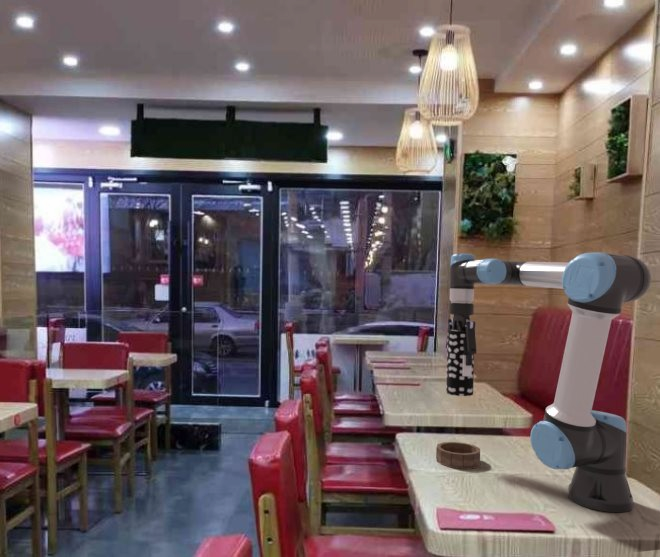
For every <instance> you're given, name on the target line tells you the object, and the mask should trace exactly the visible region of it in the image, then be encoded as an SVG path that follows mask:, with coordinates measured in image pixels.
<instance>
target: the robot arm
mask: <svg viewBox="0 0 660 557" xmlns="http://www.w3.org/2000/svg"><path fill="white" fill-rule="evenodd" d="M449 269H450V270H449V301H450V303H449V309H448V310H449V312H448V313H449V315H453V317H452V318H448V320H447V331H448V330H458V331H466V339H465V338H463V348H464V353H463V370H462V376H471V375H472V355H473V354H474V355H475V354H477V342H476V321H471V318H470V316H473V315H474V311H475V310H474V308H475V305H474V303H473V302H474V300H475V299H474V298H475V290H474V289H475V285H476V284H477V285H478V284H479V285H500V286H501V285H504V286H505V285H507V286H508V285H509V286H520V287H534V288H535V287H536V288H546V289H547V288H549V289H561V290H564V293H565V294H566V296H567V306H568V307H569V309H570V310H571V318H570V322H569V328H568V331H567V332H568V333H567V338H566V342H565V347H564V352H563V357H562V360H561V367H560V372H559V377H558V382H557V387H556V391H555V396H554V401H553V403H552V404H550V405H548V406H547V407H545V411H544V416H543V420H539V422H538V421H537V423H535V424H534V425H533V427H532V428H531V431H530V437H529V438H530V444H531V447H532V450H533V451H534V453H535V456H536V457H537V460H539V461H540V462H541V463H542V464H543V465H544V466H546V467H547V468H549V469H552V470H570V469H572V468H575V469H574V472H573V475H572V477H571V482H570V483H569V485H568V490H567V491H568V493H567V494H568V498H569V499H570V500H571V501H572V502H574V503H576V504H577V505H580V506H582V507H585V508H588V509H591V510H595V511H599V512H600V511H602V512H607V513H608V512H609V513H625V512H629V511H632V510H633V508H634V498H633V497H634V496H633V494H632V492H631V488H630V484H629V482H628V478H627V476H626V475H627V474H626V472H627V470H626V469H627V468H626V463H627V461H626V460H627V435H628V430H627V422H626V420H625V418H624V417H622V416H621V415H620V416H619V415H617V414H613V413H609V412H605V411H599V410H593V405H594V400H595V397H596V393H597V392H596V391H597V387H598V384H599V379H600V373H601V370H602V364H603V360H604V355H605V352H606V351H605V350H606V347H607V342H608V338H609V332H610V329H611V323H612V320H614V319H615V318H616V317H619V316H620V315H621V311H622V309H623V308H622V307H623V304H624V303H631V302H635V301H638V300H639V299H640V298H642V297H643V296H645V294H647V293H648V290H649V289H650V287H651V284H652V274H651V270H650V269H649V267H648V265H647V264H646V263H645V262H644V261H642V260H641V259H639V258H637V257H635V256H632V255H626V254H616V253H606V252H599V251H598V252H597V251H594V252H585V253H581V254H578V255H577V256H575V257H574V258H572V259H571V260H570V261H569V262H564V261H563V262H561V261H560V262H559V261H557V262H556V261H523V260H522V261H519V260H516V261H515V260H502V259H500V258H490V257H489V258H483V259H476V257H475V254H472V253H454V254H451V256H450V266H449ZM447 340H448V332H447V335H446V340H445V342H446V344H445V348H446V349H447Z"/></svg>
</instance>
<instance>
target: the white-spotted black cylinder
mask: <svg viewBox="0 0 660 557" xmlns="http://www.w3.org/2000/svg"><path fill="white" fill-rule="evenodd" d="M447 333H448V340H447V339H446V341H447V348H446V349H447V352H446V383H445V384H446V385H445V386H446V387H445V388H446V389H445V390H446V394H447V395H451V396H457V397H459V396H460V397H472V396H473V395H474V374H475V371H474V370H475V367H474V366H475V354H473V355H472V375H471V376H462V370H463V353H464V348H463V338H465V339H466V331H458V330H448V329H447Z"/></svg>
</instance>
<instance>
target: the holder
mask: <svg viewBox="0 0 660 557" xmlns="http://www.w3.org/2000/svg"><path fill="white" fill-rule="evenodd" d="M435 451H436V454H435V458H436V462H437V463H439V464H440V465H442V466H444V467H448V468H453V469H462V470H463V469H465V470H467V469H468V468H470V469H474V468H475V467H476V468H478V467H479V466H480V465H481V447H478V446H476V445H474V444H470V443H467V442H461V441H460V442H459V441H457V442H456V441H445V442H440V443H437V444H436V450H435Z"/></svg>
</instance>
